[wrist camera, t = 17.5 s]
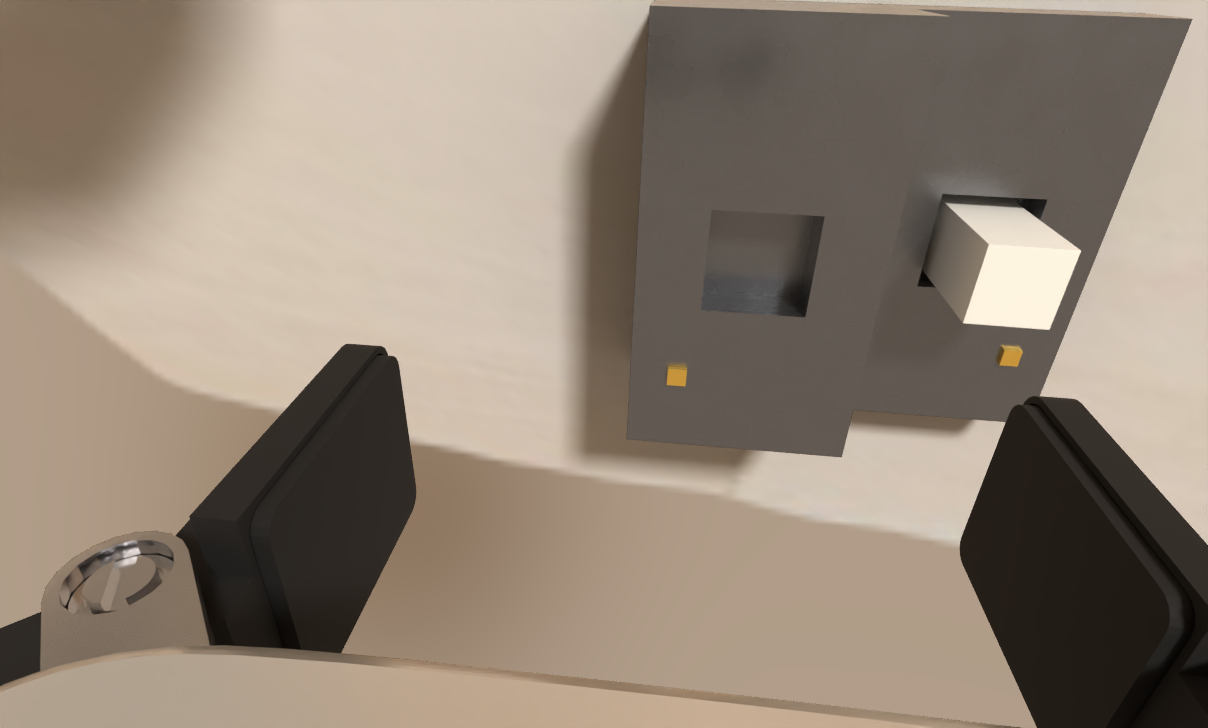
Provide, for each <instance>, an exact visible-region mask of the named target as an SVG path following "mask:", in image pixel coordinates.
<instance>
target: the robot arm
mask: <svg viewBox="0 0 1208 728" xmlns="http://www.w3.org/2000/svg"><path fill="white" fill-rule="evenodd" d="M415 499H416V484H415V477H414V470H413V463H412V455H411V449H410V441H409V434H408V427H407V420H406V413H405V406H404V398H403V391H402V384H401V377H400V370H399V364H398V361H397V359H396V358H395V357H394V356H388V353H387V351H386V349H385V348H384V347H382V346H370V345H357V344H345V345H344V346H343V347H342V348H341V349H340V350H339V351H338V352H337V353H336V354H335V355H334V356H333V357H332V359H331V360H330V361H329V362H328V363H327V364H326V365H325V366H324V367H323V369H322V370H321V371H320V372H319V373H318V374H317V375H316V376H315V377H314V379H313V380H312V381H311V382H310V383H309V384H308V385H307V386H306V387H305V389H304V390H303V391H302V392H301V393H300V394H299V395H298V396H297V397H296V399H295V400H294V401H293V402H292V403H291V404H290V405H289V406H288V407H287V409H286V410H285V411H284V412H283V413H282V414H281V415H280V416H279V417H278V419H277V420H276V421H275V422H274V423H273V424H272V425H271V426H270V427H269V429H268V430H267V431H266V432H265V433H264V434H263V435H262V436H261V437H260V439H259V440H258V441H257V442H256V443H255V444H254V445H253V446H252V447H251V449H250V450H249V451H248V452H247V453H246V454H245V455H244V456H243V458H242V459H241V460H240V461H239V462H238V463H237V464H236V465H235V466H234V467H233V468H232V470H231V471H230V472H229V473H228V474H227V475H226V477H224V479H223V480H222V481H221V482H220V483H219V484H218V485H217V486H216V487H215V489H214V490H213V491H212V492H211V493H210V494H209V495H208V496H207V498H206V499H205V500H204V501H203V502H202V503H201V504H200V505H199V506H198V507H197V509H196V510H195V511H194V512H193V513H192V514H191V515H190V516H189V517H190V520H189V521H188V522H187V523H186V524H185V526H184V527H183V528H182V529H181V530H180V531H179V532H178V533H177V535H176V536H174V535H173V534H171V533H165V532H159V531H145V532H134V533H130V534H126V535H122V536H117V537H114V538H111V539H109V540H107V541H104V542H102V543H100V544H97V545H94V546H92V547H91V548H89V549H87V550H86V551H84V552H82V553H81V554H79V555H77V556H76V557H74V558H73V559H71V560H70V561H69V562H68V563H67V564H66V565H64V566H63V567H62V568H61V569H60V570H59V571H58V572H56V574H55V575H54V577H53V578H52V579H51V581H50V582H49V584H48V585H47V586H46V588H45V591H44V595H43V598H42V602H41V612H40V613H37V614H35V615H32V616H30V617H27V618H25V619H22V620H20V621H17V622H15V623H13V624H10V625H8V626H5V627H3V628H0V728H1020V727H1011V726H1002V725H994V724H985V723H976V722H968V721H960V720H950V719H942V718H934V717H925V716H917V715H908V714H900V713H891V712H883V711H874V710H866V709H857V708H849V707H840V706H830V705H822V704H813V703H804V702H795V701H786V700H778V699H769V698H759V697H751V696H742V695H733V694H724V693H715V692H706V691H697V690H688V689H678V688H670V687H661V686H651V685H643V684H633V683H625V682H616V681H606V680H598V679H587V678H579V677H569V676H559V675H550V674H540V673H532V672H522V671H512V670H503V669H494V668H484V667H475V666H465V665H456V664H446V663H437V662H428V661H418V660H409V659H398V658H387V657H375V656H364V655H353V654H342V653H341V652H342V650H343V648H344V646H345V644H346V642H347V640H348V638H349V636H350V634H351V632H352V630H353V628H354V626H355V624H356V622H357V620H358V618H359V616H360V614H361V612H362V610H363V608H364V606H365V604H366V602H367V600H368V598H369V596H370V594H371V592H372V590H373V588H374V586H375V584H376V582H377V580H378V578H379V576H380V574H381V572H382V570H383V568H384V566H385V564H386V563H387V561H388V559H389V556H390V554H391V552H392V550H393V549H394V547H395V545H396V542H397V541H398V538H399V537H400V535H401V533H402V531H403V529H404V527H405V525H406V523H407V521H408V519H409V517H410V515H411V513H412V511H413V508H414V504H415ZM960 556H961V561H962V564H963V566H964V568H965V570H966V572H967V575H968V577H969V579H970V581H971V584H972V586H973V588H974V590H975V592H976V594H977V597H978V599H979V601H980V603H981V606H982V608H983V610H984V612H985V614H986V617H987V619H988V621H989V623H990V625H991V628H992V630H993V632H994V634H995V636H996V638H997V640H998V643H999V645H1000V647H1001V649H1002V652H1003V654H1004V656H1005V658H1006V660H1007V663H1008V665H1009V667H1010V669H1011V671H1012V674H1013V676H1014V678H1015V680H1016V682H1017V684H1018V686H1019V689H1020V691H1021V693H1022V696H1023V698H1024V700H1025V702H1026V704H1027V706H1028V709H1029V711H1030V713H1031V715H1032V718H1033V720H1034V722H1035V724H1036V726H1037V728H1208V545H1207V544H1206V543H1205V542H1204V540H1203V539H1202V538H1201V537H1200V536H1199V535H1198V534H1197V533H1196V531H1195V530H1194V529H1193V528H1192V527H1191V526H1190V525H1189V524H1188V523H1187V521H1186V520H1185V519H1184V518H1183V517H1182V516H1181V515H1180V514H1179V512H1178V511H1177V510H1176V509H1175V508H1174V507H1173V506H1172V505H1171V503H1170V502H1169V501H1168V500H1167V499H1166V498H1165V497H1164V496H1163V494H1162V493H1161V492H1160V491H1159V490H1158V489H1157V488H1156V487H1155V485H1154V484H1153V483H1152V482H1151V481H1150V480H1149V479H1148V478H1147V476H1146V475H1145V474H1144V473H1143V472H1142V471H1141V470H1140V469H1139V468H1138V466H1137V465H1136V464H1135V463H1134V462H1133V461H1132V460H1131V459H1130V457H1129V456H1128V455H1127V454H1126V453H1125V452H1124V451H1123V450H1122V448H1121V447H1120V446H1119V445H1118V444H1117V443H1116V442H1115V441H1114V439H1113V438H1112V437H1111V436H1110V435H1109V434H1108V433H1107V432H1106V430H1105V429H1104V428H1103V427H1102V426H1101V425H1100V424H1099V423H1098V421H1097V420H1096V419H1095V418H1094V417H1093V416H1092V415H1091V414H1090V412H1089V411H1088V410H1087V409H1086V408H1085V407H1084V406H1083V405H1082V404H1081V403H1080V402H1079V401H1078V400H1075V399H1067V398H1054V397H1041V396H1032V397H1029V398H1028V399H1027V400H1026V401H1025V402H1024V404H1023V405H1019V404H1018V405H1016V406H1014V407H1013V408H1012V409H1011V411H1010V413H1009V416H1008V418H1007V421H1006V423H1005V426H1004V429H1003V431H1002V434H1001V436H1000V439H999V442H998V444H997V447H996V449H995V452H994V454H993V457H992V460H991V462H990V465H989V467H988V470H987V473H986V475H985V478H984V480H983V483H982V486H981V488H980V491H979V493H978V496H977V499H976V501H975V504H974V506H973V509H972V512H971V514H970V517H969V519H968V522H967V524H966V527H965V530H964V532H963V535H962V538H961V541H960Z"/></svg>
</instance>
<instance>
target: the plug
mask: <svg viewBox="0 0 1208 728" xmlns="http://www.w3.org/2000/svg"><path fill="white" fill-rule="evenodd" d="M1080 253H1081V250H1080V249H1078V248H1077V247H1076V246H1074V245H1073V244H1072V243H1070V242H1069V241H1067V240H1066V239H1065V238H1063V237H1062V236H1061V235H1059V234H1058V233H1057V232H1055V231H1054V230H1052V229H1051V228H1050V227H1048V226H1047V225H1046V224H1044V223H1043V222H1042V221H1040V220H1039V219H1037V218H1036V217H1035V216H1033V215H1032V214H1031V213H1029V212H1028V211H1027V210H1025V209H1024V208H1022V207H1021V206H1020V205H1018V204H1017V203H1016V202H1014V201H1013V200H1012V199H1010V198H994V197H979V196H963V195H947V194H942V198H941V201H940V205H939V209H938V212H937V216H936V220H935V223H934V227H933V231H932V234H931V238H930V241H929V245H928V249H927V252H926V256H925V260H924V263H923V267H922V270H923V271H924V273H925V274H926V275H927V277H928V278H929V279H930V281H931V282H932V283H933V284H934V286H935V287H936V288H937V290H938V291H939V292H940V294H941V295H942V296H943V298H944V299H945V300H946V302H947V303H948V304H949V306H950V307H951V308H952V309H953V311H954V312H955V313H956V315H957V316H958V317H959V319H960V320H961V321H962V323H966V324H979V325H992V326H1005V327H1018V328H1031V329H1045V330H1050V327H1051V325H1052V322H1053V320H1054V317H1055V315H1056V312H1057V310H1058V307H1059V305H1060V302H1061V300H1062V297H1063V295H1064V292H1065V290H1066V287H1067V285H1068V282H1069V280H1070V277H1071V275H1072V272H1073V270H1074V267H1075V265H1076V263H1077V260H1078V258H1079V255H1080Z"/></svg>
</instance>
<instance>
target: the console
mask: <svg viewBox="0 0 1208 728" xmlns="http://www.w3.org/2000/svg"><path fill="white" fill-rule="evenodd" d="M1191 21H1192V19H1189V18H1180V17H1171V16H1162V15H1153V14H1144V13H1120V12H1091V11H1063V10H1034V9H1006V8H977V7H948V6H920V5H891V4H862V3H834V2H805V1H777V0H654V1H653V3H652V4H651V5H650V11H649V29H648V48H647V67H646V85H645V104H644V123H643V142H642V160H641V179H640V198H639V217H638V235H637V254H636V273H635V292H634V310H633V329H632V348H631V367H630V385H629V404H628V423H627V439H631V440H642V441H654V442H666V443H678V444H690V445H702V446H714V447H725V448H737V449H749V450H761V451H773V452H785V453H797V454H808V455H820V456H832V457H842V453H843V449H844V445H845V441H846V437H847V433H848V429H849V425H850V421H851V417H852V413H853V410H861V411H874V412H886V413H899V414H912V415H924V416H937V417H950V418H962V419H975V420H987V421H1000V422H1006V421H1007V418H1008V416H1009V413H1010V411H1011V409H1012V408H1013V407H1014V406H1016V405H1018V404H1019V405H1023V404H1024V402H1025V401H1026V400H1027V399H1028V398H1029V397H1032V396H1040V393H1041V391H1042V389H1043V386H1044V384H1045V381H1046V379H1047V376H1048V374H1049V371H1050V369H1051V366H1052V364H1053V361H1054V359H1055V357H1056V354H1057V352H1058V349H1059V347H1060V344H1061V342H1062V339H1063V337H1064V334H1065V332H1066V329H1067V327H1068V325H1069V322H1070V320H1071V317H1072V315H1073V312H1074V310H1075V307H1076V305H1077V302H1078V300H1079V297H1080V295H1081V292H1082V290H1083V288H1084V285H1085V283H1086V280H1087V278H1088V275H1089V273H1090V270H1091V268H1092V265H1093V263H1094V260H1095V258H1096V256H1097V253H1098V251H1099V248H1100V246H1101V243H1102V241H1103V238H1104V236H1105V233H1106V231H1107V228H1108V226H1109V223H1110V221H1111V219H1112V216H1113V214H1114V211H1115V209H1116V206H1117V204H1118V201H1119V199H1120V196H1121V194H1122V191H1123V189H1124V187H1125V184H1126V182H1127V179H1128V177H1129V174H1130V172H1131V169H1132V167H1133V164H1134V162H1135V159H1136V157H1137V155H1138V152H1139V150H1140V147H1141V145H1142V142H1143V140H1144V137H1145V135H1146V132H1147V130H1148V127H1149V125H1150V122H1151V120H1152V118H1153V115H1154V113H1155V110H1156V108H1157V105H1158V103H1159V100H1160V98H1161V95H1162V93H1163V90H1164V88H1165V86H1166V83H1167V81H1168V78H1169V76H1170V73H1171V71H1172V68H1173V66H1174V63H1175V61H1176V58H1177V56H1178V53H1179V51H1180V49H1181V46H1182V44H1183V41H1184V39H1185V36H1186V34H1187V31H1188V29H1189V26H1190V24H1191ZM942 194H947V195H963V196H979V197H994V198H1010V199H1012V200H1013V201H1014V202H1016V203H1017V204H1018V205H1020V206H1021V207H1022V208H1024V209H1025V210H1027V211H1028V212H1029V213H1031V214H1032V215H1033V216H1035V217H1036V218H1037V219H1039V220H1040V221H1042V222H1043V223H1044V224H1046V225H1047V226H1048V227H1050V228H1051V229H1052V230H1054V231H1055V232H1057V233H1058V234H1059V235H1061V236H1062V237H1063V238H1065V239H1066V240H1067V241H1069V242H1070V243H1072V244H1073V245H1074V246H1076V247H1077V248H1078V249H1080V250H1081V253H1080V255H1079V258H1078V260H1077V263H1076V265H1075V267H1074V270H1073V272H1072V275H1071V277H1070V280H1069V282H1068V285H1067V287H1066V290H1065V292H1064V295H1063V297H1062V300H1061V302H1060V305H1059V307H1058V310H1057V312H1056V315H1055V317H1054V320H1053V322H1052V325H1051V327H1050V330H1045V329H1031V328H1018V327H1005V326H992V325H979V324H966V323H962V321H961V320H960V319H959V317H958V316H957V315H956V313H955V312H954V311H953V309H952V308H951V307H950V306H949V304H948V303H947V302H946V300H945V299H944V298H943V296H942V295H941V294H940V292H939V291H938V290H937V288H936V287H935V286H934V284H933V283H932V282H931V281H930V279H929V278H928V277H927V275H926V274H925V273H924V271H923V270H922V267H923V263H924V260H925V256H926V252H927V249H928V245H929V241H930V238H931V234H932V231H933V227H934V223H935V220H936V216H937V212H938V209H939V205H940V201H941V198H942Z"/></svg>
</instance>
